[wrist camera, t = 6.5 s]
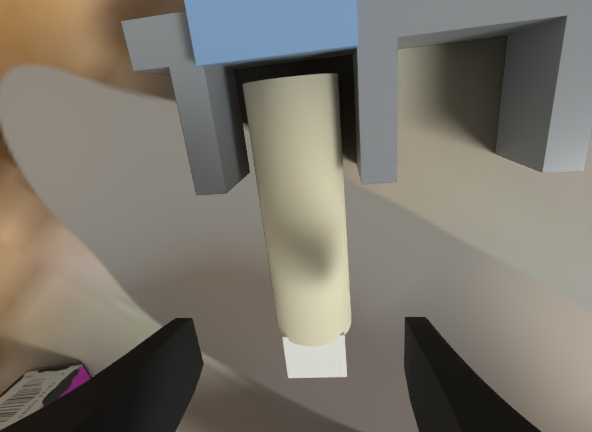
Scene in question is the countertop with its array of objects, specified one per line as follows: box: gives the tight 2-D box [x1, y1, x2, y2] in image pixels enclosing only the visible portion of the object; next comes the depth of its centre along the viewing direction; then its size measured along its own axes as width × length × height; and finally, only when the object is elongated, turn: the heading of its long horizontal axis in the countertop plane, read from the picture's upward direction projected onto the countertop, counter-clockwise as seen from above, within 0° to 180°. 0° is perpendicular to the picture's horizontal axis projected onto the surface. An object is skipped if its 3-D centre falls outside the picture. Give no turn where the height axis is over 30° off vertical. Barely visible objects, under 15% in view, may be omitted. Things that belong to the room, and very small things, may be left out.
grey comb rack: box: [121, 0, 592, 195], centre depth 11 cm, size 6×22×4 cm, turn 96°
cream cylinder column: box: [243, 73, 351, 378], centre depth 15 cm, size 13×4×4 cm, turn 6°
